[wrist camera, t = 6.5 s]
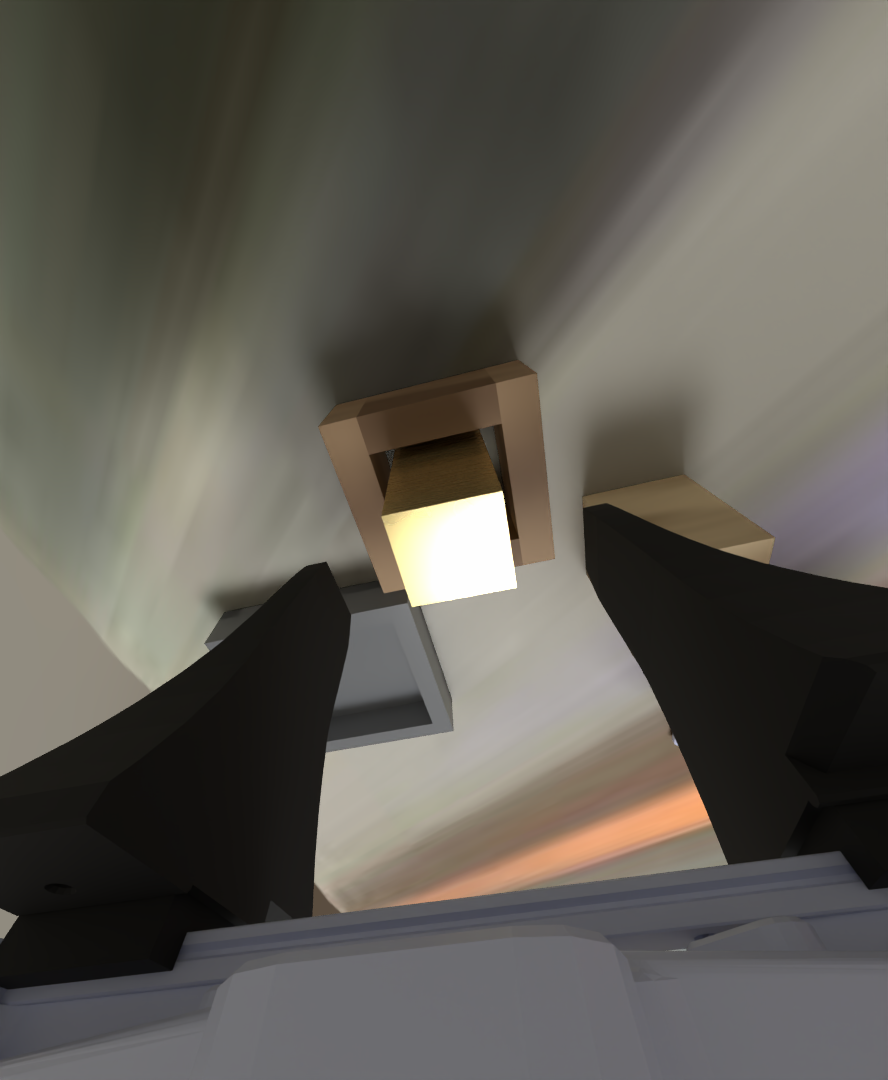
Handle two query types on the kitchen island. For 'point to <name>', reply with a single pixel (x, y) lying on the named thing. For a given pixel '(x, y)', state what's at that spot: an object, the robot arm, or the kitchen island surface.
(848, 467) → the kitchen island surface
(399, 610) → the tray
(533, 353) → the kitchen island surface
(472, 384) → the brown rectangular frame
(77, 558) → the kitchen island surface
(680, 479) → the block
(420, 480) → the gold rectangular block
